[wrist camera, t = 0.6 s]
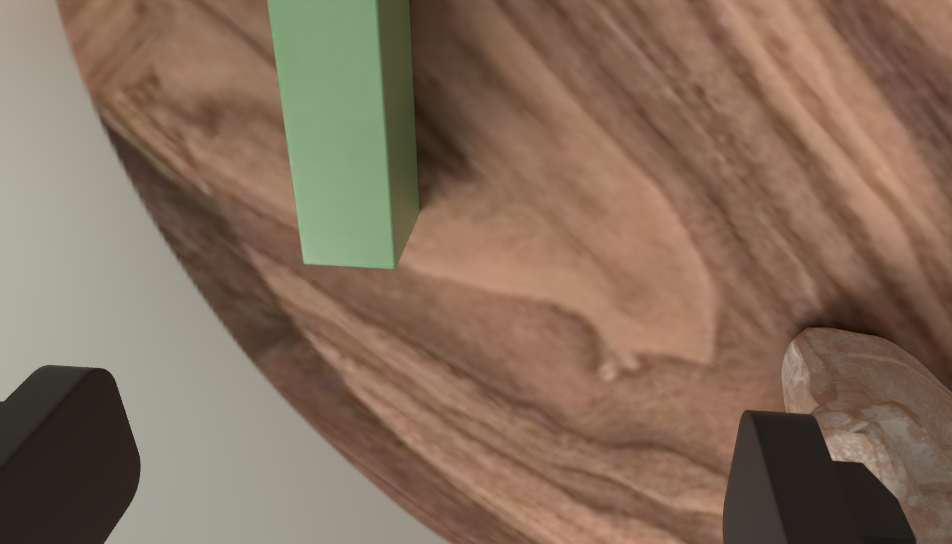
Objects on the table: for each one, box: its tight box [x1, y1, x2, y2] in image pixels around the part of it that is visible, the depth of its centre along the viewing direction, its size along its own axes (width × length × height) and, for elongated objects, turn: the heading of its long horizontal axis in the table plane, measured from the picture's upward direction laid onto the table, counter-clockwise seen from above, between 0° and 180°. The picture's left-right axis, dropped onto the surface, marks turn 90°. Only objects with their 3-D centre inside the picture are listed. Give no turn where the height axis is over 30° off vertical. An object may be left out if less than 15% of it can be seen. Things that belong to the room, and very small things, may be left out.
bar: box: [267, 0, 420, 269], centre depth 22 cm, size 14×3×4 cm, turn 0°
